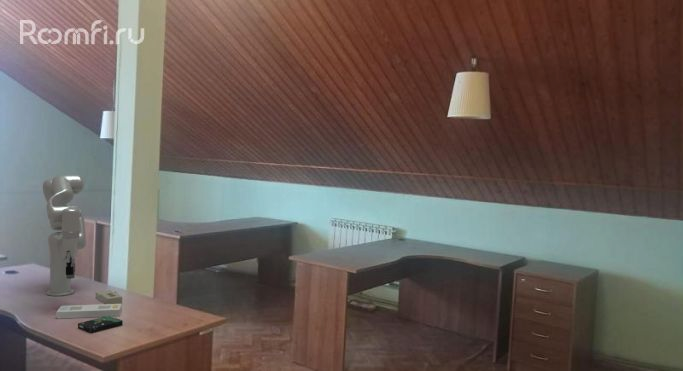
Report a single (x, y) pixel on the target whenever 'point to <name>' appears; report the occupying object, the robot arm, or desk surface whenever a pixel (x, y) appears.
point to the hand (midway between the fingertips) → (70, 273)
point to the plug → (73, 271)
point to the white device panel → (89, 311)
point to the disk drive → (100, 324)
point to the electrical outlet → (109, 297)
